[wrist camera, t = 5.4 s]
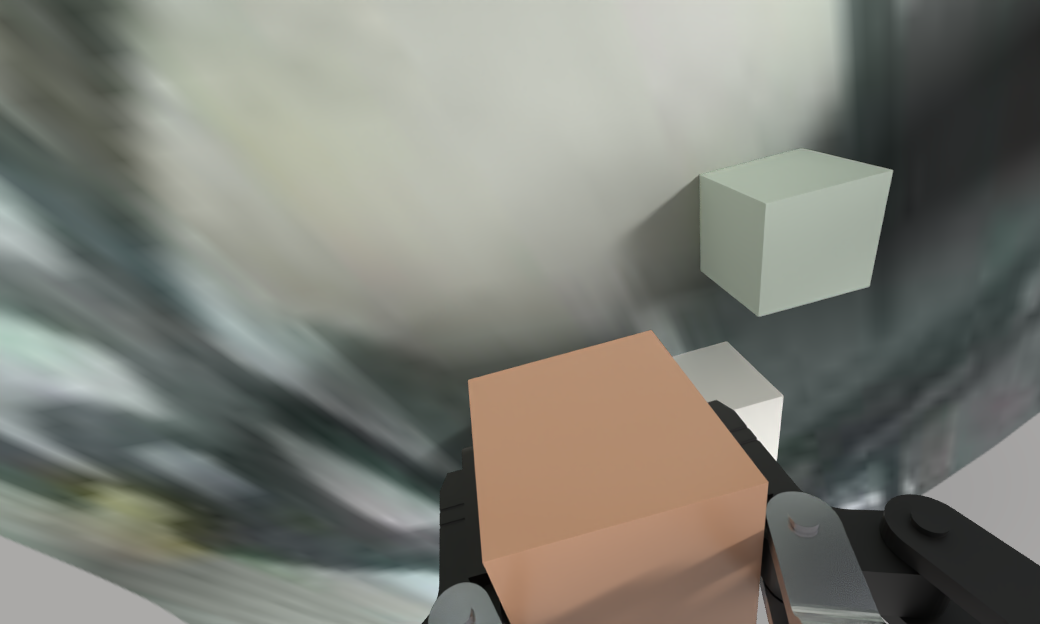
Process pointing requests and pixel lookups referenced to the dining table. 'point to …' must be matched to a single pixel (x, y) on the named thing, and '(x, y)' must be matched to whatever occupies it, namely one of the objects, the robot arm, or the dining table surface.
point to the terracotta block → (614, 492)
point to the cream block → (736, 389)
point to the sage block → (791, 228)
